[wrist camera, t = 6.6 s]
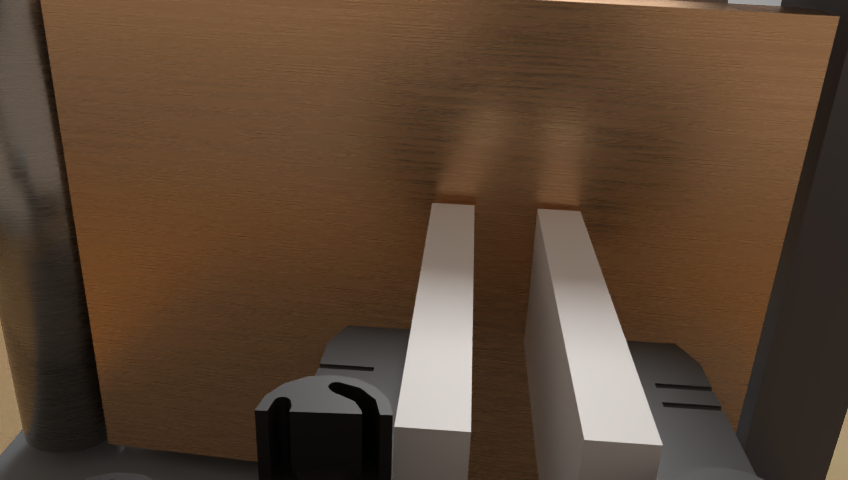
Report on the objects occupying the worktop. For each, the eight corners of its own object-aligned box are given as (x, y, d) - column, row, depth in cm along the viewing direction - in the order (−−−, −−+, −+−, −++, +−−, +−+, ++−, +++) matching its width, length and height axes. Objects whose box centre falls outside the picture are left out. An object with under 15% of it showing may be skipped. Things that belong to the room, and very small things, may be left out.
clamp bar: (2, 446, 17) (-104, -33, 13) (59, 390, 19) (-18, -40, 15) (720, 535, 15) (852, 20, 11) (698, 463, 17) (803, 5, 13)
